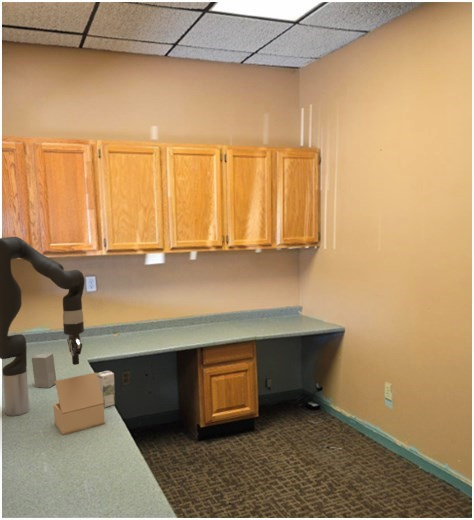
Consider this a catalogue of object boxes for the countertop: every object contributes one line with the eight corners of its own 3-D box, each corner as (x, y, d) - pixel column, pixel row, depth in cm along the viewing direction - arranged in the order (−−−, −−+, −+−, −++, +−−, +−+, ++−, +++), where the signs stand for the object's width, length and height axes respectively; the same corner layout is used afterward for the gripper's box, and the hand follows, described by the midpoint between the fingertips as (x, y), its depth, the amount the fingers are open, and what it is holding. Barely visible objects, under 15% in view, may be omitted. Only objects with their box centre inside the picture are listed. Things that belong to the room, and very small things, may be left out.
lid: (54, 381, 179) (55, 380, 178) (95, 373, 188) (96, 372, 187) (61, 413, 173) (61, 413, 173) (103, 403, 182) (103, 402, 182)
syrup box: (108, 401, 206) (107, 369, 205) (115, 404, 202) (114, 372, 200) (97, 405, 202) (95, 373, 201) (103, 408, 198) (102, 375, 196)
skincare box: (57, 384, 231) (55, 353, 230) (47, 389, 224) (45, 357, 223) (42, 383, 233) (40, 352, 232) (33, 387, 226) (31, 356, 225)
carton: (54, 423, 184) (53, 403, 184) (94, 413, 193) (93, 394, 193) (63, 435, 173) (61, 414, 173) (104, 423, 183) (103, 404, 182)
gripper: (59, 319, 184) (61, 362, 185) (68, 325, 173) (70, 370, 174) (78, 317, 188) (80, 358, 189) (88, 322, 177) (90, 366, 179)
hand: (75, 364), depth 182 cm, fingers closed
